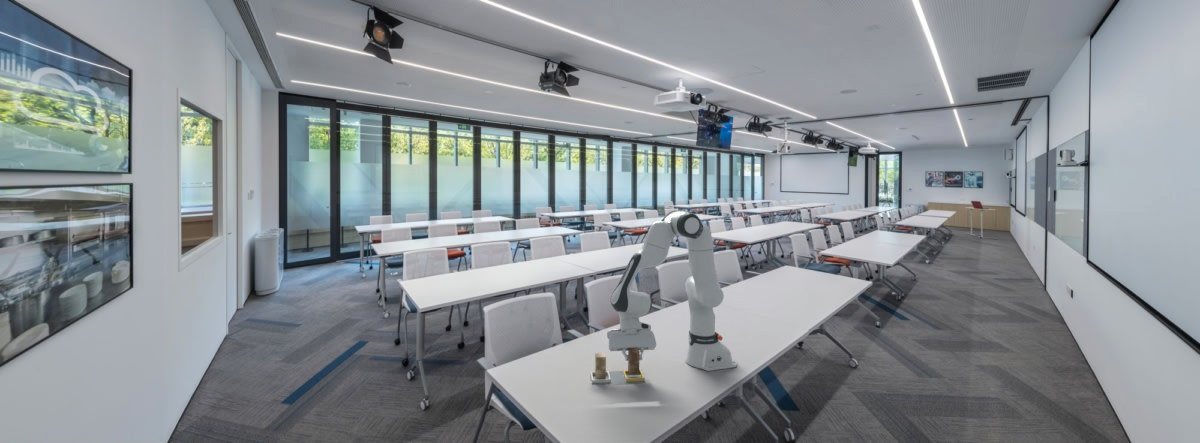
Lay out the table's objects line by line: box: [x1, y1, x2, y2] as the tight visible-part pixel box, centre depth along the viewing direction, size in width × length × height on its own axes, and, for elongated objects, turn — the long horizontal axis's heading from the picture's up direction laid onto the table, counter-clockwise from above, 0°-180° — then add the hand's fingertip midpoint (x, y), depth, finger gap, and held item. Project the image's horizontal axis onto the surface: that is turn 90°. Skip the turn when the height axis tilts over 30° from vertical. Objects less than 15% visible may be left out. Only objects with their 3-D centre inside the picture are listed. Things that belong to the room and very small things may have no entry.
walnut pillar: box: [627, 348, 641, 375], centre depth 180 cm, size 4×4×10 cm
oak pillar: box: [594, 352, 607, 379], centre depth 179 cm, size 4×4×10 cm
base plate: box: [589, 369, 647, 387], centre depth 180 cm, size 22×12×2 cm, turn 96°
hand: (634, 359), depth 179 cm, fingers closed on walnut pillar, 4 cm apart
